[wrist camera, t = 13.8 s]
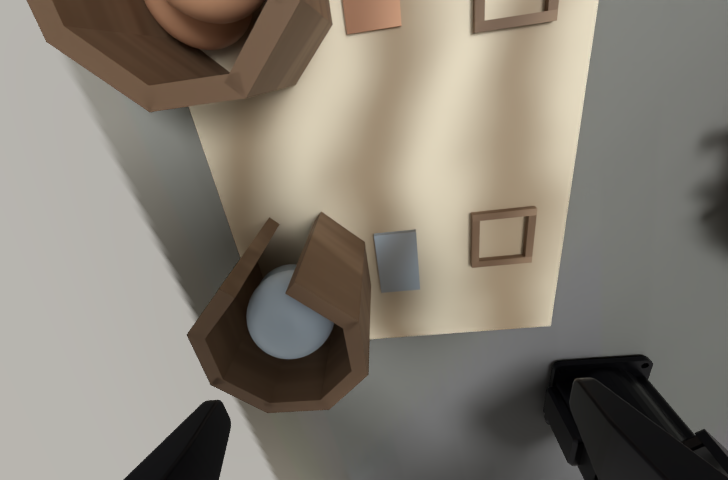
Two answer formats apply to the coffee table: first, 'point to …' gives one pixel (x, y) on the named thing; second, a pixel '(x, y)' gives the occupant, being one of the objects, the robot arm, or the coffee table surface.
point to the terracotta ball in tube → (196, 27)
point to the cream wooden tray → (365, 164)
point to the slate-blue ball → (284, 320)
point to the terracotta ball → (217, 9)
